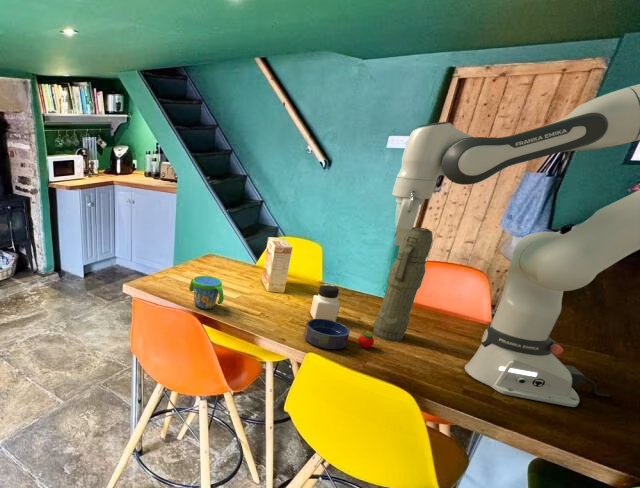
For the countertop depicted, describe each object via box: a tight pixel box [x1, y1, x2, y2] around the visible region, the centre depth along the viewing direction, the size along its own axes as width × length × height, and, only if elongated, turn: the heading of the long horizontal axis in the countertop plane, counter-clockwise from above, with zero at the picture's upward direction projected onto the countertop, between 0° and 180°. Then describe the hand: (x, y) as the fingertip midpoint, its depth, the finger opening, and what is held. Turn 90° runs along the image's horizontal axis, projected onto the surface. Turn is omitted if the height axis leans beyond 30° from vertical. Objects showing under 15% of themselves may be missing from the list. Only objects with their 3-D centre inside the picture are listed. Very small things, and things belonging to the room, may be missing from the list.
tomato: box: [357, 332, 375, 349], centre depth 123 cm, size 4×4×4 cm
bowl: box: [303, 318, 351, 350], centre depth 126 cm, size 12×12×5 cm
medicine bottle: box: [309, 283, 341, 322], centre depth 141 cm, size 7×7×12 cm
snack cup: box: [188, 275, 224, 310], centre depth 149 cm, size 16×10×10 cm
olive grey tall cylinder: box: [372, 226, 434, 342], centre depth 125 cm, size 9×12×35 cm
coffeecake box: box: [261, 236, 293, 293], centre depth 168 cm, size 15×7×20 cm, turn 172°
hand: (397, 241), depth 111 cm, fingers open, 8 cm apart
